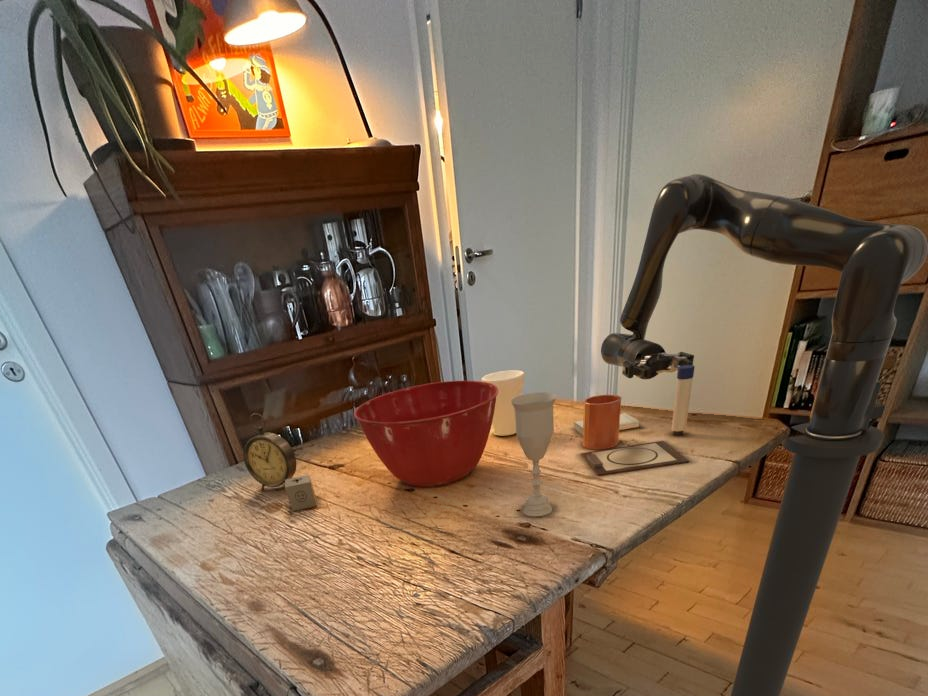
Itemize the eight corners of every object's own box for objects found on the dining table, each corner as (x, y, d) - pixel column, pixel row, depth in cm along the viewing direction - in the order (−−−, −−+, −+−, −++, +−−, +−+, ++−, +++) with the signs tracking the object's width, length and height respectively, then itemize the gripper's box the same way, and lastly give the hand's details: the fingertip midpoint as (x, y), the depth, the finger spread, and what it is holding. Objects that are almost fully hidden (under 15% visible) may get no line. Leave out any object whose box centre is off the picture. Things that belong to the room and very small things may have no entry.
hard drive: (585, 430, 115) (639, 420, 116) (573, 421, 122) (624, 411, 122) (585, 437, 116) (638, 427, 117) (573, 428, 123) (624, 419, 123)
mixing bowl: (481, 503, 95) (472, 415, 85) (347, 502, 105) (326, 423, 95) (518, 451, 115) (513, 375, 106) (403, 454, 125) (390, 385, 116)
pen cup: (612, 436, 114) (614, 392, 109) (623, 446, 108) (625, 400, 103) (579, 441, 115) (579, 398, 109) (587, 451, 109) (588, 406, 103)
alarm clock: (254, 493, 118) (226, 418, 108) (266, 484, 122) (241, 411, 112) (296, 491, 114) (271, 414, 105) (307, 482, 118) (284, 407, 109)
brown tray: (662, 442, 107) (663, 437, 106) (688, 462, 97) (689, 456, 96) (580, 454, 108) (580, 449, 107) (597, 475, 97) (597, 470, 97)
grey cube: (316, 497, 110) (309, 474, 107) (316, 505, 106) (309, 482, 103) (292, 502, 109) (284, 479, 106) (292, 511, 105) (284, 487, 102)
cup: (532, 426, 129) (529, 368, 121) (520, 439, 122) (516, 379, 114) (494, 427, 133) (490, 371, 125) (480, 440, 126) (474, 381, 118)
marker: (682, 431, 111) (690, 364, 103) (688, 435, 108) (697, 366, 101) (668, 433, 111) (675, 366, 103) (673, 437, 108) (681, 369, 101)
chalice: (562, 515, 86) (561, 400, 75) (521, 521, 86) (515, 407, 75) (552, 499, 92) (550, 390, 81) (514, 505, 92) (507, 397, 81)
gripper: (614, 345, 121) (636, 356, 108) (675, 335, 120) (705, 345, 107) (612, 380, 125) (634, 394, 112) (671, 371, 125) (700, 384, 112)
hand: (669, 370), depth 110 cm, fingers open, 8 cm apart
